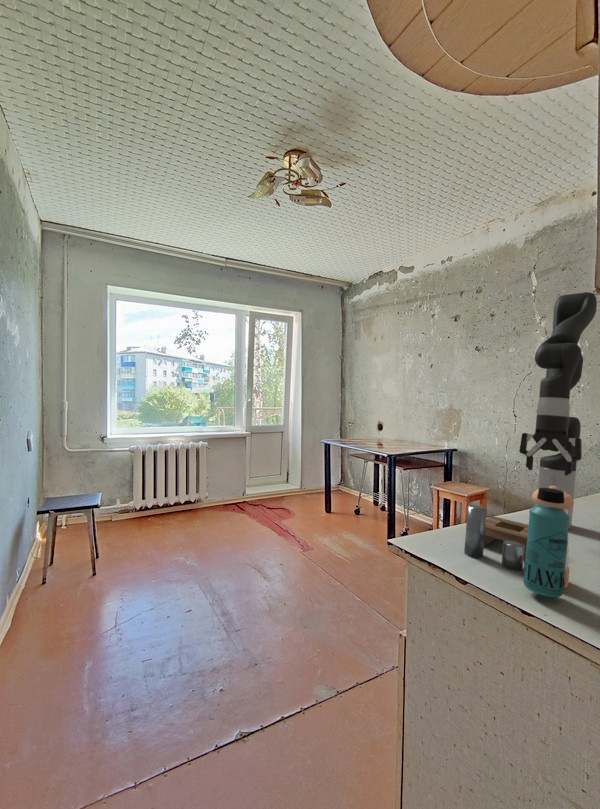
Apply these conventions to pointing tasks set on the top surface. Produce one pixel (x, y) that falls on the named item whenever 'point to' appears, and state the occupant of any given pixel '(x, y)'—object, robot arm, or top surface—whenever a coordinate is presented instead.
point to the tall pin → (475, 531)
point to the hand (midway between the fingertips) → (547, 472)
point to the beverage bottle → (546, 545)
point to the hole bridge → (505, 531)
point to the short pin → (513, 555)
